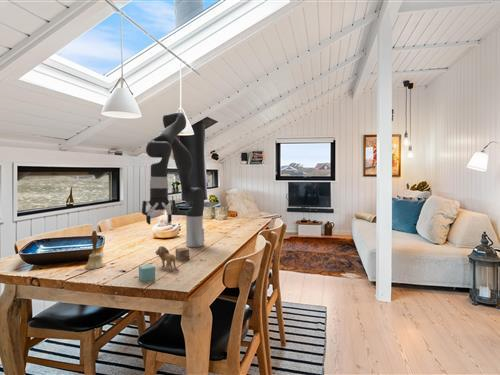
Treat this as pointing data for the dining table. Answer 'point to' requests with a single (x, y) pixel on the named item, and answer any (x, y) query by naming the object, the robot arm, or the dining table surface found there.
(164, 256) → the lion figurine
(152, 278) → the teal block
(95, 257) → the hand bell
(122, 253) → the dining table surface
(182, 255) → the walnut block
